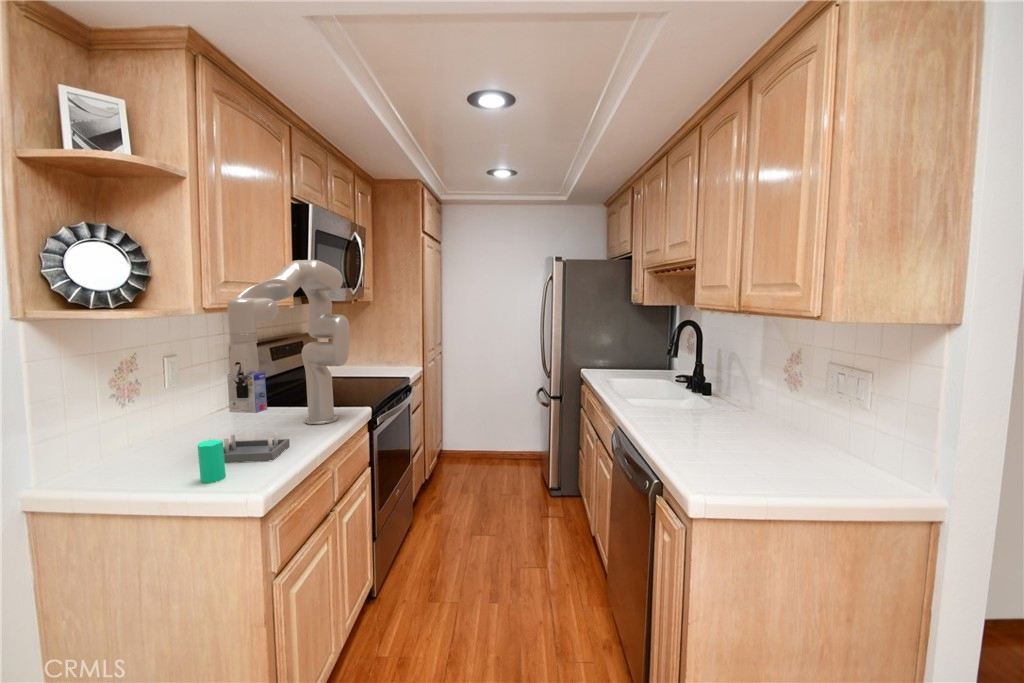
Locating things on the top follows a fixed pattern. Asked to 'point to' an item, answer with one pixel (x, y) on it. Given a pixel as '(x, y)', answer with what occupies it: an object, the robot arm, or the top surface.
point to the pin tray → (254, 449)
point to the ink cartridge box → (255, 394)
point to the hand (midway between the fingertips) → (247, 395)
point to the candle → (211, 461)
